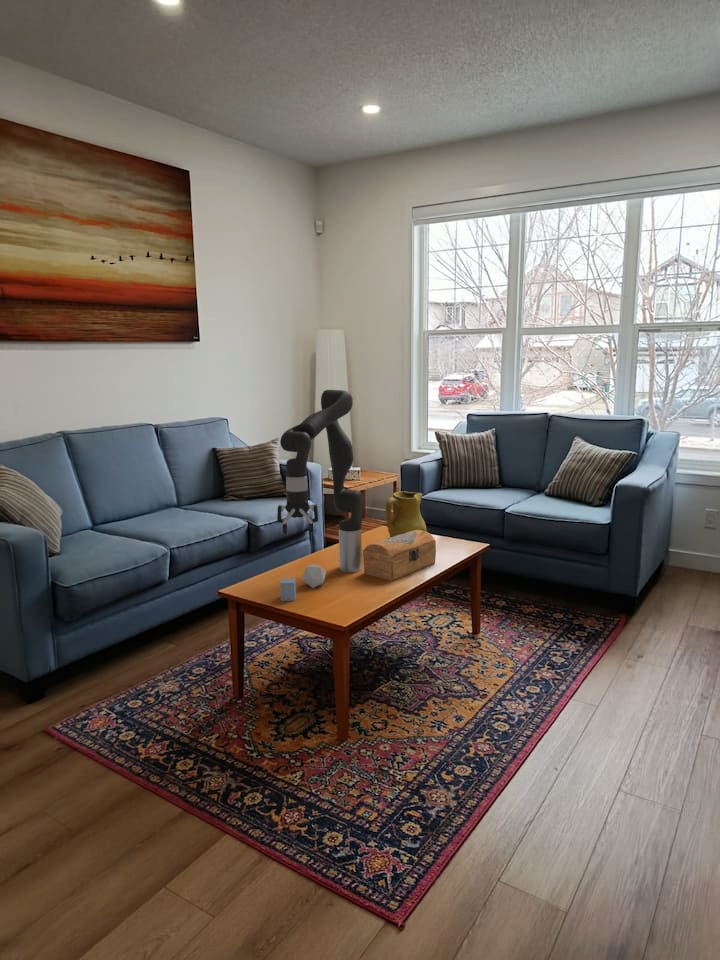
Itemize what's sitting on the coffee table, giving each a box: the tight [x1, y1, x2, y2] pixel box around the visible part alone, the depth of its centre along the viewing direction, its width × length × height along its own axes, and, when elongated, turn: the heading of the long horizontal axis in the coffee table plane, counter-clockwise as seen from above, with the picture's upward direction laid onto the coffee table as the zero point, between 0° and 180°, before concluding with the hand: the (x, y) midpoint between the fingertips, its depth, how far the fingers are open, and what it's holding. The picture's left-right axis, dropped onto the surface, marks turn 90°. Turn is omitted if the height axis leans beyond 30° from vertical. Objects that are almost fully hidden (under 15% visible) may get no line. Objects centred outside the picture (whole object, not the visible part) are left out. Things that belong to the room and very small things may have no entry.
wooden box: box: [362, 530, 437, 582], centre depth 276 cm, size 30×16×14 cm, turn 138°
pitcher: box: [385, 490, 428, 538], centre depth 308 cm, size 17×19×25 cm
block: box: [279, 577, 297, 602], centre depth 244 cm, size 5×5×7 cm
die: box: [301, 562, 327, 589], centre depth 257 cm, size 8×9×10 cm
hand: (298, 533), depth 238 cm, fingers open, 8 cm apart
